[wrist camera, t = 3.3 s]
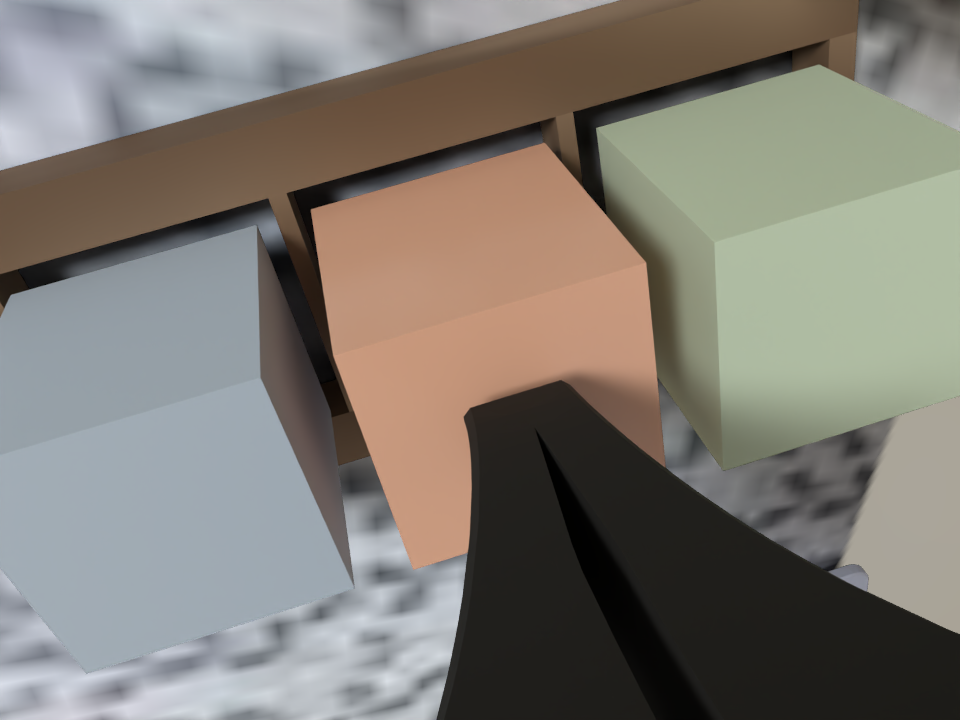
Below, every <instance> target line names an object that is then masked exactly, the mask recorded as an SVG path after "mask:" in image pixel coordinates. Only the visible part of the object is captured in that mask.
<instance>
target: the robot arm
mask: <svg viewBox="0 0 960 720" xmlns="http://www.w3.org/2000/svg"><path fill="white" fill-rule="evenodd" d="M463 418H464V422H465V425H466V429H467V432H468V438H469V445H470V455H471V480H472V491H471V516H470V536H469V546H468V555H467V563H466V572H465V580H464V589H463V597H462V603H461V609H460V615H459V621H458V627H457V632H456V638H455V643H454V647H453V652H452V657H451V662H450V667H449V671H448V676H447V680H446V684H445V688H444V692H443V696H442V700H441V704H440V708H439V712H438V716H437V720H960V634H958V633H955V632H953V631H950V630H948V629H946V628H943V627H941V626H939V625H937V624H935V623H933V622H931V621H929V620H926V619H924V618H922V617H920V616H918V615H915V614H914V613H911V612H909V611H907V610H905V609H903V608H900V607H899V606H896V605H894V604H892V603H890V602H888V601H886V600H883V599H881V598H879V597H877V596H875V595H873V594H871V593H869V592H867V589H868V575H867V573H866V572H865V571H864V570H863V568H862V567H861V566H859V565H855V564H851V565H846V566H843V567H840V568H837V569H834V570H831V571H828V572H827V571H826V570H824V569H822V568H820V567H818V566H816V565H814V564H812V563H811V562H809V561H807V560H805V559H803V558H802V557H800V556H798V555H796V554H795V553H793V552H791V551H789V550H788V549H786V548H784V547H783V546H781V545H779V544H777V543H776V542H774V541H772V540H770V539H769V538H767V537H766V536H764V535H762V534H761V533H759V532H757V531H756V530H754V529H753V528H751V527H749V526H748V525H746V524H745V523H743V522H742V521H740V520H739V519H737V518H735V517H734V516H732V515H731V514H729V513H728V512H726V511H725V510H723V509H722V508H721V507H719V506H718V505H716V504H715V503H713V502H712V501H710V500H709V499H707V498H706V497H704V496H703V495H701V494H700V493H699V492H697V491H696V490H694V489H693V488H692V487H690V486H689V485H688V484H686V483H685V482H683V481H682V480H681V479H679V478H678V477H677V476H675V475H674V474H673V473H671V472H670V471H669V470H668V469H666V468H665V467H664V466H662V465H661V464H660V463H659V462H657V461H656V460H655V459H653V458H652V457H651V456H650V455H648V454H647V453H646V452H644V451H643V450H642V449H641V448H639V447H638V446H637V445H636V444H635V443H633V442H632V441H631V440H630V439H628V438H627V437H626V436H625V435H624V434H623V433H621V432H620V431H619V430H618V429H617V428H616V427H615V426H613V425H612V424H611V423H610V422H609V421H608V420H607V419H605V418H604V417H603V416H602V415H601V414H600V413H599V412H598V411H597V410H595V409H594V408H593V407H592V406H591V405H590V404H589V403H588V402H587V401H586V400H585V399H584V398H583V397H582V396H581V395H580V394H579V393H578V392H577V391H576V390H575V389H574V388H573V387H572V386H571V385H570V384H568V383H566V382H564V381H562V380H559V381H556V382H553V383H549V384H546V385H543V386H539V387H536V388H533V389H530V390H526V391H523V392H520V393H517V394H513V395H510V396H507V397H504V398H500V399H497V400H494V401H491V402H487V403H484V404H481V405H477V406H474V407H471V408H470V409H469V410H468V411H467V413H466V414H465V416H464V417H463Z"/></svg>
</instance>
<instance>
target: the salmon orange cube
mask: <svg viewBox="0 0 960 720" xmlns="http://www.w3.org/2000/svg"><path fill="white" fill-rule="evenodd" d="M311 215H312V221H313V228H314V234H315V241H316V247H317V254H318V260H319V267H320V273H321V280H322V286H323V293H324V299H325V306H326V312H327V319H328V325H329V332H330V338H331V345H332V351H333V357H334V359H335V362H336V365H337V367H338V370H339V373H340V375H341V378H342V381H343V383H344V386H345V389H346V391H347V394H348V397H349V399H350V402H351V405H352V407H353V410H354V413H355V415H356V418H357V421H358V423H359V426H360V429H361V431H362V434H363V437H364V439H365V442H366V445H367V447H368V450H369V453H370V455H371V458H372V461H373V463H374V466H375V469H376V471H377V474H378V477H379V479H380V482H381V485H382V487H383V490H384V493H385V495H386V498H387V501H388V503H389V506H390V509H391V511H392V514H393V517H394V519H395V522H396V524H397V527H398V530H399V532H400V535H401V538H402V540H403V543H404V546H405V548H406V551H407V554H408V556H409V559H410V562H411V564H412V567H413V570H414V569H418V568H421V567H424V566H427V565H430V564H433V563H436V562H440V561H443V560H446V559H449V558H452V557H455V556H458V555H462V554H465V553H468V546H469V536H470V516H471V491H472V480H471V455H470V445H469V438H468V432H467V429H466V425H465V422H464V418H463V417H464V416H465V414H466V413H467V411H468V410H469V409H470V408H471V407H474V406H477V405H481V404H484V403H487V402H491V401H494V400H497V399H500V398H504V397H507V396H510V395H513V394H517V393H520V392H523V391H526V390H530V389H533V388H536V387H539V386H543V385H546V384H549V383H553V382H556V381H559V380H562V381H564V382H566V383H568V384H570V385H571V386H572V387H573V388H574V389H575V390H576V391H577V392H578V393H579V394H580V395H581V396H582V397H583V398H584V399H585V400H586V401H587V402H588V403H589V404H590V405H591V406H592V407H593V408H594V409H595V410H597V411H598V412H599V413H600V414H601V415H602V416H603V417H604V418H605V419H607V420H608V421H609V422H610V423H611V424H612V425H613V426H615V427H616V428H617V429H618V430H619V431H620V432H621V433H623V434H624V435H625V436H626V437H627V438H628V439H630V440H631V441H632V442H633V443H635V444H636V445H637V446H638V447H639V448H641V449H642V450H643V451H644V452H646V453H647V454H648V455H650V456H651V457H652V458H653V459H655V460H656V461H657V462H659V463H660V464H661V465H662V466H664V467H665V468H666V466H665V455H664V445H663V434H662V424H661V413H660V403H659V392H658V382H657V371H656V361H655V350H654V340H653V329H652V319H651V308H650V298H649V287H648V277H647V266H646V262H645V261H644V259H643V258H642V257H641V256H640V255H639V254H638V252H637V251H636V250H635V249H634V248H633V246H632V245H631V244H630V243H629V242H628V241H627V239H626V238H625V237H624V236H623V235H622V233H621V232H620V231H619V230H618V229H617V228H616V226H615V225H614V224H613V223H612V222H611V220H610V219H609V218H608V217H607V216H606V215H605V213H604V212H603V211H602V210H601V209H600V207H599V206H598V205H597V204H596V203H595V202H594V200H593V199H592V198H591V197H590V196H589V194H588V193H587V192H586V191H585V190H584V189H583V187H582V186H581V185H580V184H579V183H578V181H577V180H576V179H575V178H574V177H573V175H572V174H571V173H570V172H569V171H568V170H567V168H566V167H565V166H564V165H563V164H562V162H561V161H560V160H559V159H558V158H557V157H556V155H555V154H554V153H553V152H552V151H551V149H550V148H549V147H548V146H547V145H546V144H545V143H542V144H539V145H535V146H531V147H528V148H524V149H521V150H517V151H514V152H510V153H507V154H503V155H500V156H496V157H493V158H489V159H486V160H482V161H479V162H475V163H472V164H468V165H465V166H461V167H458V168H454V169H451V170H447V171H444V172H440V173H437V174H433V175H430V176H426V177H423V178H419V179H416V180H412V181H409V182H405V183H402V184H398V185H395V186H391V187H388V188H384V189H381V190H377V191H374V192H370V193H367V194H363V195H360V196H356V197H353V198H349V199H346V200H342V201H339V202H335V203H332V204H328V205H325V206H321V207H318V208H314V209H311Z"/></svg>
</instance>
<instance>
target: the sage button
mask: <svg viewBox="0 0 960 720" xmlns="http://www.w3.org/2000/svg"><path fill="white" fill-rule="evenodd" d="M596 131H597V139H598V147H599V155H600V164H601V172H602V180H603V188H604V196H605V204H606V213H607V217H608V218H609V219H610V220H611V222H612V223H613V224H614V225H615V226H616V228H617V229H618V230H619V231H620V232H621V233H622V235H623V236H624V237H625V238H626V239H627V241H628V242H629V243H630V244H631V245H632V246H633V248H634V249H635V250H636V251H637V252H638V254H639V255H640V256H641V257H642V258H643V259H644V261H645V262H646V266H647V277H648V287H649V298H650V308H651V319H652V329H653V340H654V350H655V361H656V371H657V377H658V379H659V380H660V381H661V383H662V384H663V386H664V387H665V389H666V390H667V391H668V393H669V394H670V396H671V397H672V399H673V400H674V401H675V403H676V404H677V406H678V407H679V409H680V410H681V411H682V413H683V414H684V416H685V417H686V419H687V420H688V421H689V423H690V424H691V426H692V427H693V429H694V430H695V431H696V433H697V434H698V436H699V437H700V438H701V440H702V441H703V443H704V444H705V446H706V447H707V448H708V450H709V451H710V453H711V454H712V456H713V457H714V458H715V460H716V461H717V463H718V464H719V466H720V467H721V468H722V470H723V471H725V470H729V469H732V468H735V467H738V466H741V465H744V464H747V463H751V462H754V461H757V460H760V459H763V458H766V457H769V456H773V455H776V454H779V453H782V452H785V451H788V450H791V449H795V448H798V447H801V446H804V445H807V444H810V443H813V442H817V441H820V440H823V439H826V438H829V437H832V436H835V435H839V434H842V433H845V432H848V431H851V430H854V429H857V428H861V427H864V426H867V425H870V424H873V423H876V422H879V421H883V420H886V419H889V418H892V417H895V416H898V415H901V414H904V413H908V412H911V411H914V410H917V409H920V408H923V407H926V406H929V405H933V404H936V403H939V402H942V401H945V400H948V399H952V398H955V397H958V396H960V132H959V131H957V130H955V129H953V128H951V127H949V126H947V125H944V124H942V123H940V122H938V121H936V120H934V119H932V118H930V117H928V116H926V115H924V114H921V113H919V112H917V111H915V110H913V109H911V108H909V107H907V106H905V105H903V104H901V103H899V102H896V101H894V100H892V99H890V98H888V97H886V96H884V95H882V94H880V93H878V92H876V91H874V90H871V89H869V88H867V87H865V86H863V85H861V84H859V83H857V82H855V81H853V80H851V79H848V78H846V77H844V76H842V75H840V74H838V73H836V72H834V71H832V70H830V69H828V68H826V67H823V66H821V65H816V66H812V67H809V68H805V69H802V70H798V71H795V72H791V73H788V74H784V75H780V76H777V77H773V78H770V79H766V80H763V81H759V82H756V83H752V84H749V85H745V86H742V87H738V88H735V89H731V90H728V91H724V92H721V93H717V94H714V95H710V96H707V97H703V98H700V99H696V100H693V101H689V102H686V103H682V104H679V105H675V106H672V107H668V108H665V109H661V110H658V111H654V112H651V113H647V114H644V115H640V116H637V117H633V118H630V119H626V120H623V121H619V122H616V123H612V124H609V125H605V126H602V127H598V128H596Z"/></svg>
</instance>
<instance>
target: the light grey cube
mask: <svg viewBox="0 0 960 720" xmlns="http://www.w3.org/2000/svg"><path fill="white" fill-rule="evenodd" d="M0 569H1V570H2V571H3V572H4V574H5V575H6V576H7V577H8V578H9V580H10V581H11V582H12V583H13V585H14V586H15V587H16V588H17V590H18V591H19V592H20V593H21V594H22V596H23V597H24V598H25V599H26V601H27V602H28V603H29V604H30V605H31V607H32V608H33V609H34V610H35V612H36V613H37V614H38V615H39V616H40V618H41V619H42V620H43V621H44V623H45V624H46V625H47V626H48V627H49V629H50V630H51V631H52V632H53V634H54V635H55V636H56V637H57V638H58V640H59V641H60V642H61V643H62V645H63V646H64V647H65V648H66V650H67V651H68V652H69V653H70V654H71V656H72V657H73V658H74V659H75V661H76V662H77V663H78V664H79V665H80V667H81V668H82V669H83V670H84V672H85V673H86V674H88V673H91V672H94V671H97V670H100V669H103V668H106V667H110V666H113V665H116V664H119V663H122V662H125V661H128V660H132V659H135V658H138V657H141V656H144V655H147V654H150V653H154V652H157V651H160V650H163V649H166V648H169V647H172V646H176V645H179V644H182V643H185V642H188V641H191V640H194V639H198V638H201V637H204V636H207V635H210V634H213V633H216V632H220V631H223V630H226V629H229V628H232V627H235V626H238V625H242V624H245V623H248V622H251V621H254V620H257V619H260V618H264V617H267V616H270V615H273V614H276V613H279V612H282V611H286V610H289V609H292V608H295V607H298V606H301V605H304V604H308V603H311V602H314V601H317V600H320V599H323V598H326V597H330V596H333V595H336V594H339V593H342V592H345V591H348V590H352V589H355V587H354V579H353V572H352V565H351V557H350V550H349V542H348V535H347V528H346V520H345V513H344V506H343V498H342V491H341V484H340V476H339V469H338V461H337V454H336V447H335V439H334V432H333V425H332V417H331V411H330V408H329V406H328V403H327V401H326V398H325V396H324V393H323V391H322V388H321V386H320V383H319V380H318V378H317V375H316V373H315V370H314V368H313V365H312V363H311V360H310V358H309V355H308V353H307V350H306V348H305V345H304V343H303V340H302V338H301V335H300V333H299V330H298V328H297V325H296V323H295V320H294V317H293V315H292V312H291V310H290V307H289V305H288V302H287V300H286V297H285V295H284V292H283V290H282V287H281V285H280V282H279V280H278V277H277V275H276V272H275V270H274V267H273V265H272V262H271V259H270V257H269V254H268V252H267V249H266V247H265V244H264V242H263V239H262V237H261V234H260V232H259V229H258V227H257V225H254V226H251V227H247V228H244V229H240V230H237V231H233V232H230V233H226V234H223V235H219V236H216V237H212V238H209V239H205V240H202V241H198V242H195V243H191V244H188V245H184V246H181V247H177V248H174V249H170V250H167V251H163V252H160V253H156V254H153V255H149V256H146V257H142V258H139V259H135V260H132V261H128V262H125V263H121V264H118V265H114V266H111V267H107V268H104V269H100V270H97V271H93V272H90V273H86V274H83V275H79V276H76V277H72V278H69V279H65V280H62V281H58V282H55V283H51V284H48V285H44V286H41V287H37V288H33V289H30V290H26V291H23V292H19V293H16V294H12V295H11V296H10V298H9V300H8V302H7V304H6V306H5V309H4V311H3V313H2V315H1V317H0Z"/></svg>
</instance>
